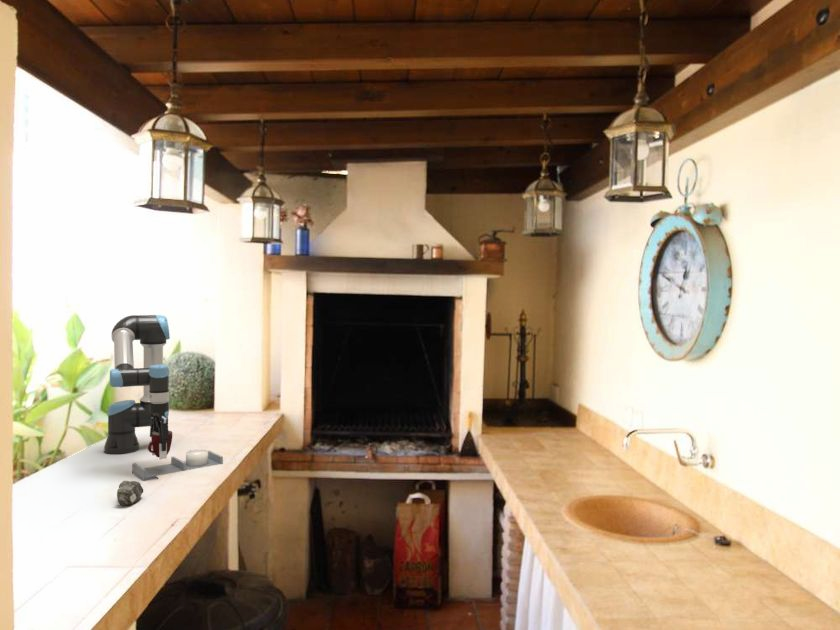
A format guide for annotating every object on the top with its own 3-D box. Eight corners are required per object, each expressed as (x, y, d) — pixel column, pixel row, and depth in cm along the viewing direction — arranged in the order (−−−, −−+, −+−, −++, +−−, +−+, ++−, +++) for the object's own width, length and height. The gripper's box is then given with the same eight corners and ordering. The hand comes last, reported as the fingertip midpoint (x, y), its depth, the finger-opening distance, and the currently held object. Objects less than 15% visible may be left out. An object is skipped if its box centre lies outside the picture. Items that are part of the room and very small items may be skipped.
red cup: (158, 462, 251) (158, 438, 250) (142, 459, 253) (142, 435, 252) (176, 455, 261) (176, 431, 260) (160, 452, 263) (161, 429, 262)
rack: (132, 473, 257) (132, 463, 257) (209, 459, 279) (209, 450, 279) (143, 480, 246) (143, 470, 246) (222, 466, 269) (222, 456, 268)
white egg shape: (182, 463, 268) (182, 451, 268) (202, 459, 274) (202, 448, 274) (190, 467, 262) (190, 455, 262) (211, 463, 268) (211, 452, 268)
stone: (143, 514, 220) (136, 494, 215) (121, 519, 218) (113, 499, 213) (146, 487, 232) (139, 467, 227) (126, 492, 230) (118, 472, 225)
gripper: (141, 400, 262) (141, 453, 262) (158, 406, 246) (159, 463, 247) (159, 398, 267) (159, 450, 267) (177, 404, 251) (177, 460, 252)
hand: (159, 456), depth 257 cm, fingers closed on red cup, 8 cm apart
